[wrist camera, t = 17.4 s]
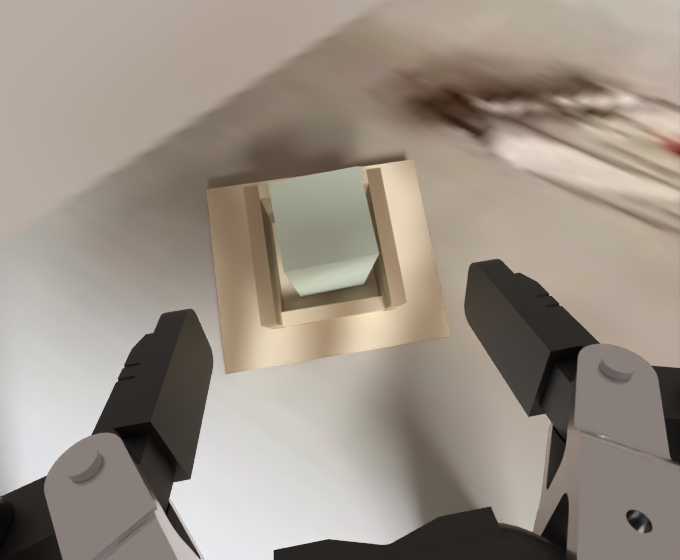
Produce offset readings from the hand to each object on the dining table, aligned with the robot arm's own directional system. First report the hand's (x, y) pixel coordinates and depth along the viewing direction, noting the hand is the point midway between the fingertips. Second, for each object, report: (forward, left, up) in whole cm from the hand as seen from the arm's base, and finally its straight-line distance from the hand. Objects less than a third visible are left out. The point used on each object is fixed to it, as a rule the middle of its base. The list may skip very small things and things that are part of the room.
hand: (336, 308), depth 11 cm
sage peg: (0, +4, -12) cm, 13 cm away
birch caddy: (0, +4, -13) cm, 14 cm away
